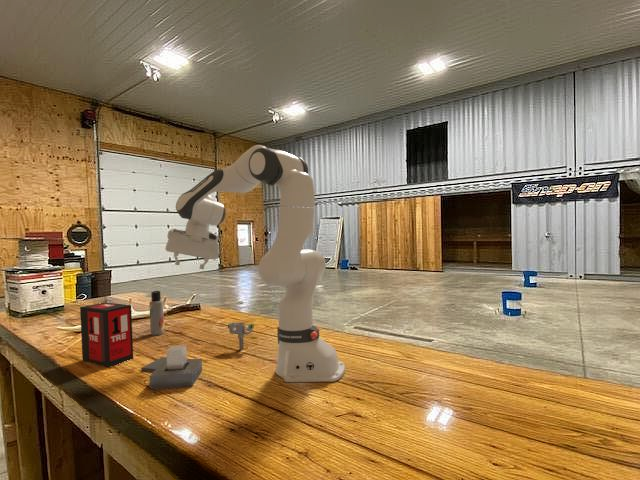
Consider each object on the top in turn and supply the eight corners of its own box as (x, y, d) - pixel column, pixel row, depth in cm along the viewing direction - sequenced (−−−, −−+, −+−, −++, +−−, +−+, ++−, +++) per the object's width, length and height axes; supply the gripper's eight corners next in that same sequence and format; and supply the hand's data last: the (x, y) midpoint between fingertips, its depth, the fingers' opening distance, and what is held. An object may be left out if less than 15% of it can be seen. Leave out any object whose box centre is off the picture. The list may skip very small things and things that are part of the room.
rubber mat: (186, 361, 120) (186, 358, 120) (167, 372, 110) (167, 369, 110) (162, 359, 122) (162, 357, 122) (141, 370, 113) (141, 367, 113)
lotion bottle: (166, 331, 159) (164, 289, 159) (159, 335, 154) (158, 292, 153) (155, 332, 160) (153, 290, 159) (148, 335, 154) (146, 292, 154)
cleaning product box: (133, 358, 124) (131, 305, 124) (108, 367, 117) (106, 310, 116) (107, 352, 132) (104, 302, 132) (82, 360, 124) (80, 306, 124)
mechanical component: (252, 350, 129) (251, 324, 128) (227, 349, 131) (226, 324, 131) (255, 348, 132) (254, 322, 131) (231, 347, 134) (230, 322, 133)
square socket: (202, 370, 111) (201, 358, 111) (192, 386, 99) (191, 373, 99) (164, 373, 110) (163, 361, 110) (150, 389, 98) (149, 376, 98)
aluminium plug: (187, 376, 107) (186, 344, 107) (183, 382, 103) (181, 349, 102) (172, 377, 107) (171, 345, 106) (167, 383, 102) (166, 350, 102)
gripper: (170, 226, 129) (162, 261, 126) (222, 237, 139) (216, 270, 136) (168, 228, 135) (160, 262, 132) (218, 239, 145) (212, 271, 142)
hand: (189, 266), depth 134 cm, fingers open, 8 cm apart
